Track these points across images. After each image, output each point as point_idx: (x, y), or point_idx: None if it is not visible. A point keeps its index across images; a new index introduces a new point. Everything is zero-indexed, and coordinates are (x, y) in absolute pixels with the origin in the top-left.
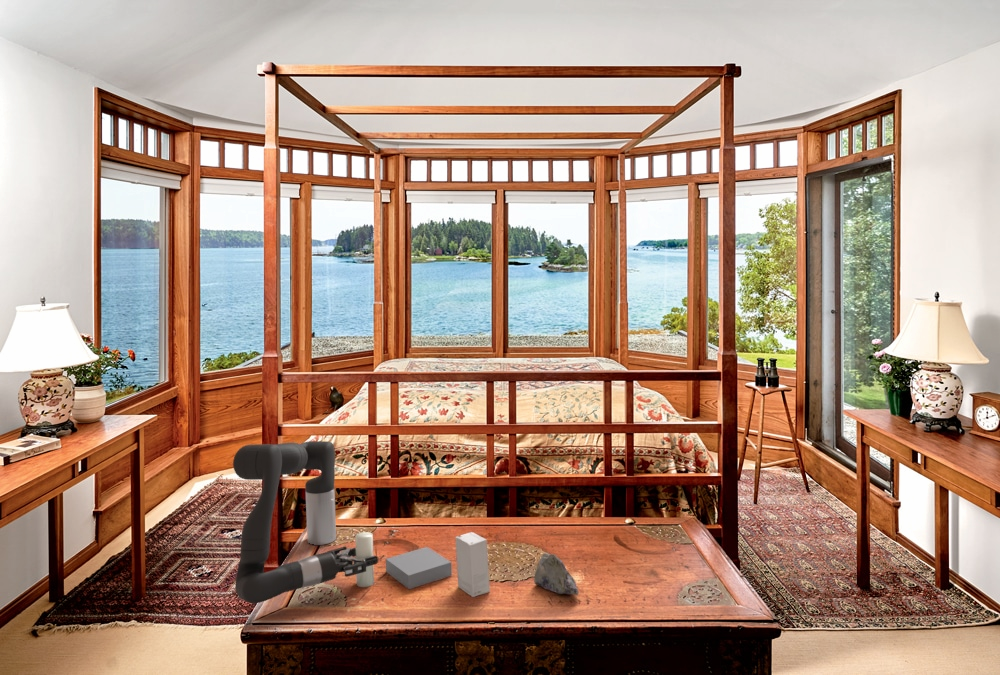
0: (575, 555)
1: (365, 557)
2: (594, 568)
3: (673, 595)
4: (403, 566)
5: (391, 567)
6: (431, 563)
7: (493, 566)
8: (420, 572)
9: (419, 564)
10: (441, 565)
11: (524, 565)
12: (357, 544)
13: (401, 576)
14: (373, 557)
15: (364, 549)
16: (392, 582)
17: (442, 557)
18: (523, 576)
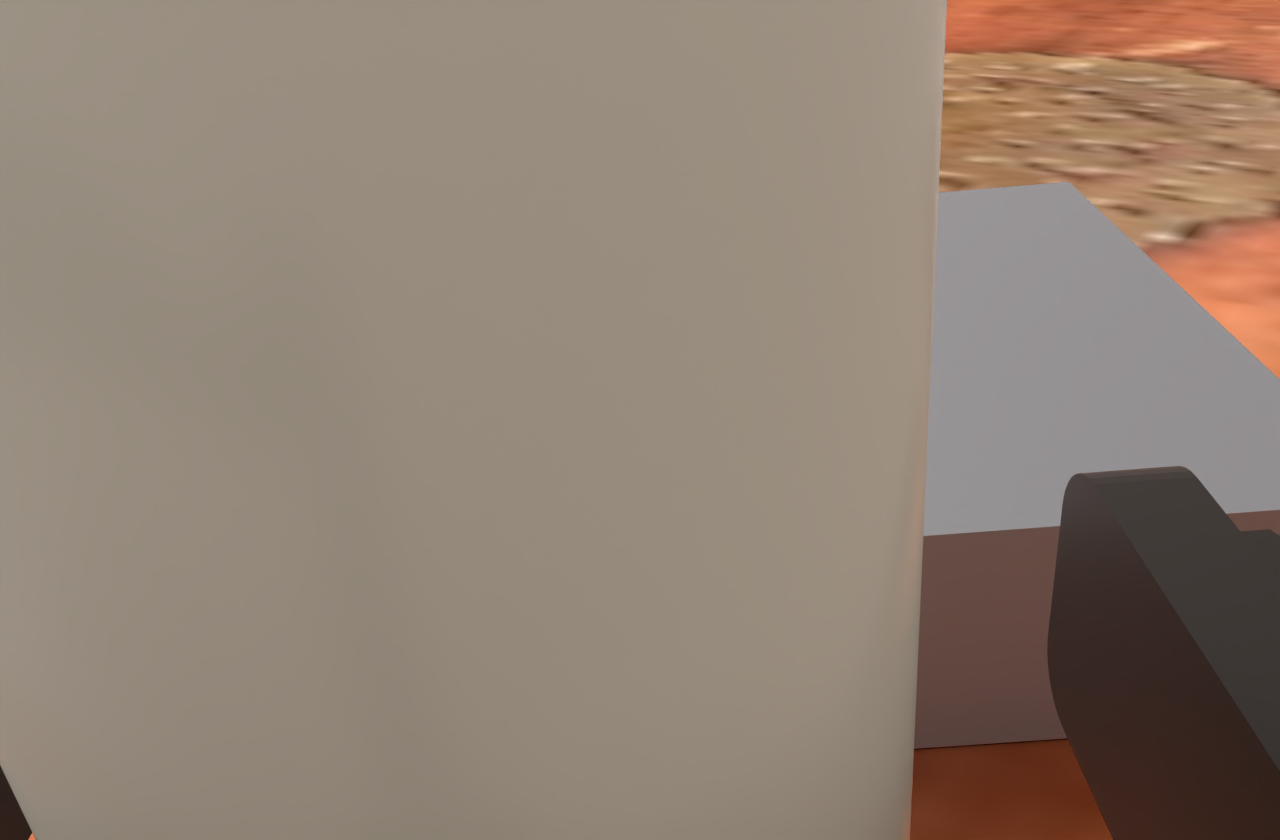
0: (1055, 19)
1: (905, 804)
2: (1264, 8)
3: None
4: (938, 470)
5: None
6: (1012, 269)
7: (1010, 172)
8: (1272, 385)
9: (975, 339)
10: (1117, 233)
11: (1083, 104)
12: (461, 350)
13: None
14: (1240, 560)
15: (923, 450)
16: (928, 836)
17: None
18: (1276, 124)
